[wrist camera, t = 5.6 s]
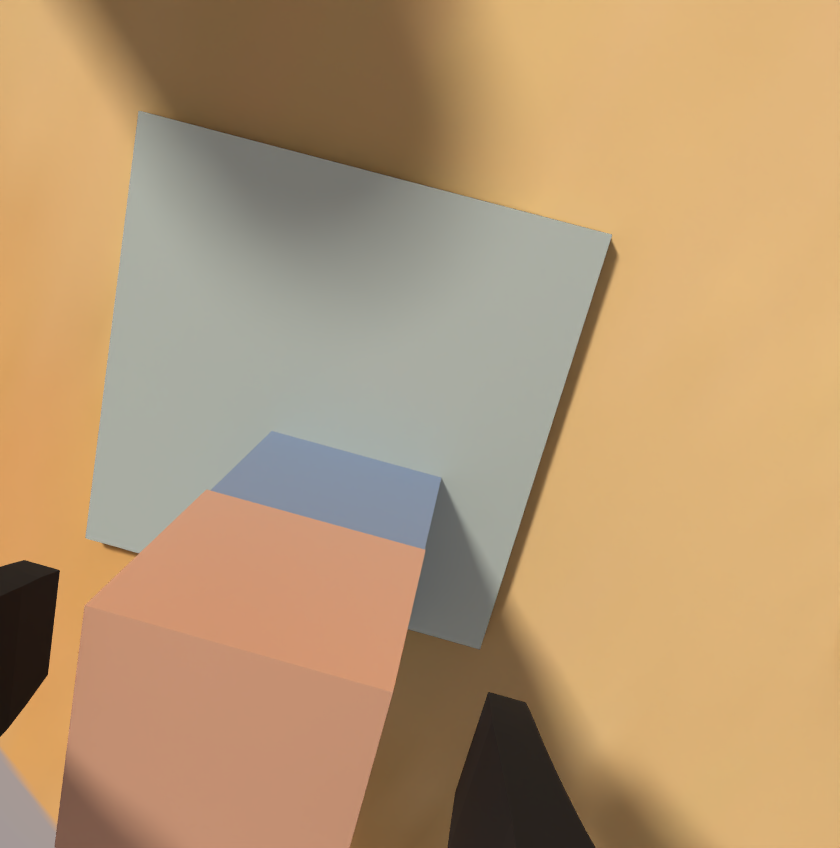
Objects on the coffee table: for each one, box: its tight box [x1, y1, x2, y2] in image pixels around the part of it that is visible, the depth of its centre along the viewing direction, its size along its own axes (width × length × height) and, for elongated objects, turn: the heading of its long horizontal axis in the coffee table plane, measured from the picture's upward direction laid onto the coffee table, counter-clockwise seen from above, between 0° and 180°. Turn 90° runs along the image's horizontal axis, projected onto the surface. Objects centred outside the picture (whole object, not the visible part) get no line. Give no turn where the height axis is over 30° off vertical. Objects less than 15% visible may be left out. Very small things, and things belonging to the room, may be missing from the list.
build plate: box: [86, 111, 612, 649], centre depth 17 cm, size 10×10×1 cm
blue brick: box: [210, 431, 441, 550], centre depth 16 cm, size 4×4×4 cm
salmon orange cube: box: [55, 489, 426, 848], centre depth 12 cm, size 4×4×4 cm
